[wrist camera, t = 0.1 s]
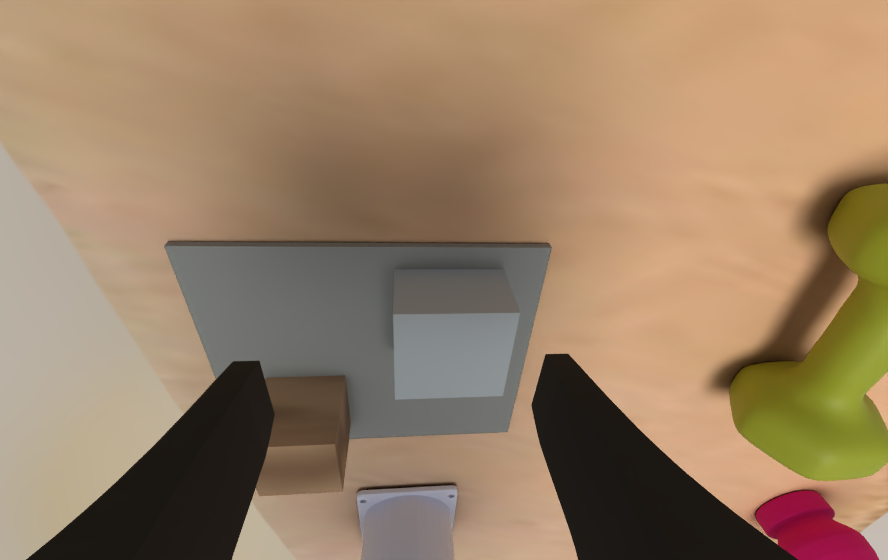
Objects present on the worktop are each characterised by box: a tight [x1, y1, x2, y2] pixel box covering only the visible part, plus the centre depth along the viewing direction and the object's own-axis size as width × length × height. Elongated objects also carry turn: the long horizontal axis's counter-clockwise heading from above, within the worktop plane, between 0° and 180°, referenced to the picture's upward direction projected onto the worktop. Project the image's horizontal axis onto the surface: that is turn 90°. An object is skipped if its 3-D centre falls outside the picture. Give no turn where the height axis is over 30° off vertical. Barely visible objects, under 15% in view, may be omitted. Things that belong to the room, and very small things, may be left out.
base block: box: [393, 269, 520, 400], centre depth 20 cm, size 6×6×4 cm
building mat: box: [164, 242, 551, 439], centre depth 23 cm, size 15×18×1 cm
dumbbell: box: [729, 183, 888, 481], centre depth 21 cm, size 16×8×7 cm, turn 0°
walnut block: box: [256, 375, 351, 496], centre depth 23 cm, size 4×4×4 cm
